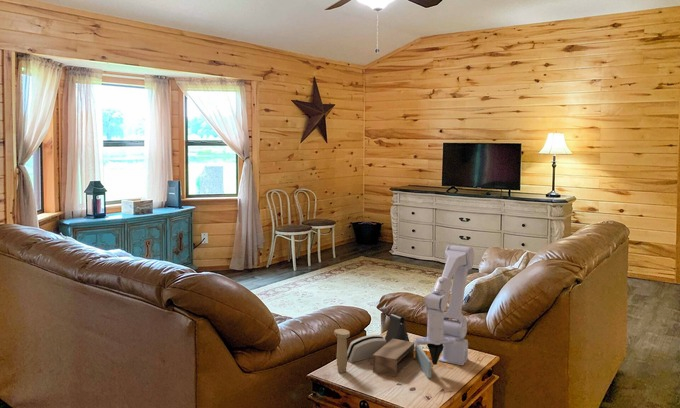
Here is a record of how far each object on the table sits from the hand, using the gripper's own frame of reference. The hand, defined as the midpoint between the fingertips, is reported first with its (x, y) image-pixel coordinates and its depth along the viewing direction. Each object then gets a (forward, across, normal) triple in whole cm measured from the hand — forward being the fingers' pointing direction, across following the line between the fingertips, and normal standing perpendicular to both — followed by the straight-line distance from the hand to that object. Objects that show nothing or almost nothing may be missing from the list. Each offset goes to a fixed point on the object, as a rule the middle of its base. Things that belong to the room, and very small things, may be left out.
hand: (434, 363), depth 202 cm
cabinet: (+4, -13, +9) cm, 16 cm away
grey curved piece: (+4, -23, +17) cm, 29 cm away
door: (+4, -3, +5) cm, 6 cm away
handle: (+4, -33, +4) cm, 34 cm away
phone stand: (+4, -8, +31) cm, 32 cm away
